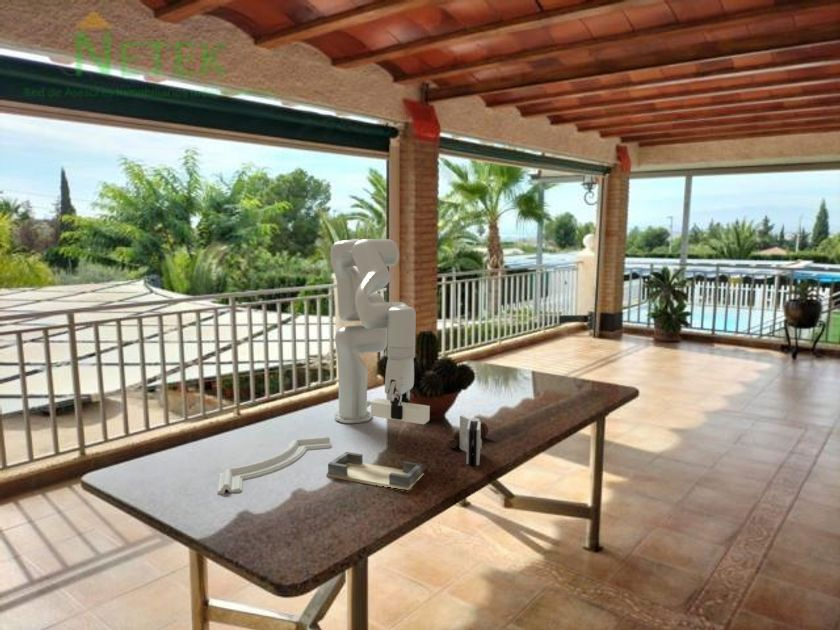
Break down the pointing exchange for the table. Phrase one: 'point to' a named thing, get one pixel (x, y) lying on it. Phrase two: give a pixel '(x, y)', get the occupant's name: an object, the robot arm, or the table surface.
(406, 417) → the slat
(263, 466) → the molding
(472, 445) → the hinge
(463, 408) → the table surface
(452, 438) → the bolt
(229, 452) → the table surface
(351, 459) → the cream and grey fixture
